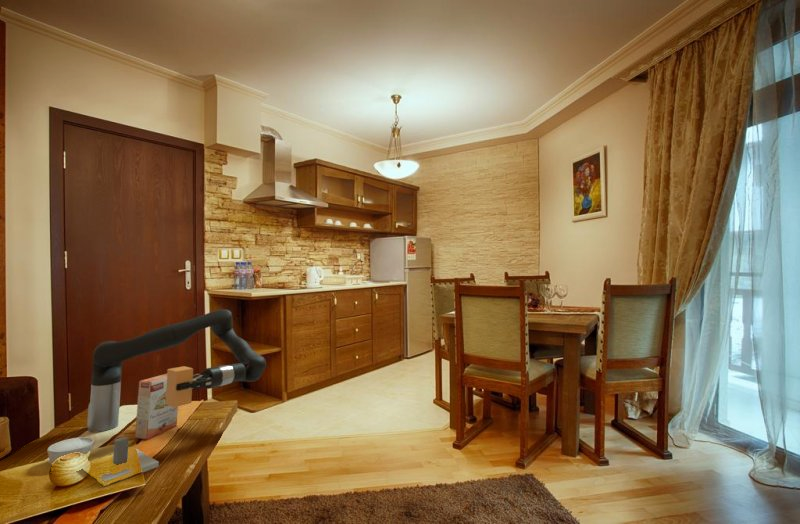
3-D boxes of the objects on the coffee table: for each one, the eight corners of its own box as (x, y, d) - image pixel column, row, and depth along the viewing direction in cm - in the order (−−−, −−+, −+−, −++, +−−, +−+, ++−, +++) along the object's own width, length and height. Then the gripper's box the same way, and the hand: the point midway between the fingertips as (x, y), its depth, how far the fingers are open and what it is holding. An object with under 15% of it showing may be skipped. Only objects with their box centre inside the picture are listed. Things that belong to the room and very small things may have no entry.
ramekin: (101, 454, 123) (102, 438, 124) (65, 471, 112) (66, 453, 113) (75, 451, 126) (76, 435, 126) (36, 466, 115) (38, 449, 115)
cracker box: (148, 440, 135) (151, 382, 136) (134, 438, 136) (137, 380, 137) (178, 426, 148) (181, 373, 150) (165, 424, 150) (168, 371, 151)
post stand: (80, 468, 114) (82, 440, 115) (132, 451, 126) (134, 425, 126) (104, 486, 104) (106, 455, 105) (158, 466, 116) (160, 439, 117)
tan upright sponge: (165, 404, 129) (167, 369, 130) (182, 399, 134) (184, 366, 135) (174, 407, 126) (176, 371, 127) (191, 402, 131) (193, 368, 132)
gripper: (208, 363, 146) (162, 371, 132) (229, 369, 139) (183, 378, 125) (207, 383, 146) (160, 393, 132) (228, 389, 138) (182, 401, 124)
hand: (172, 385), depth 128 cm, fingers closed on tan upright sponge, 5 cm apart
